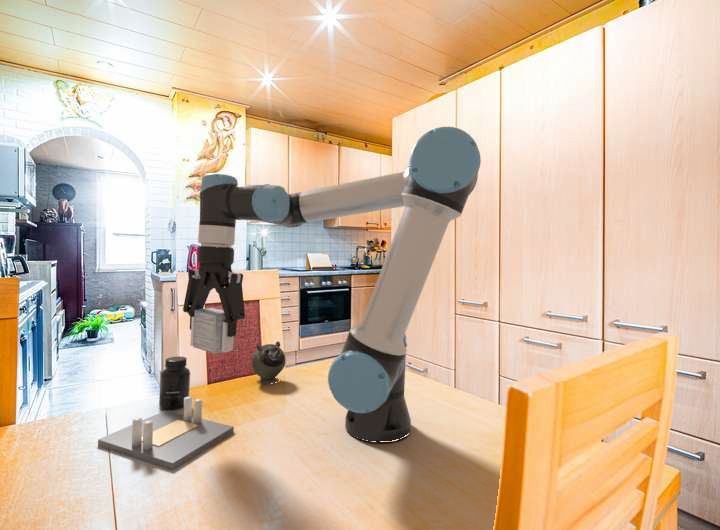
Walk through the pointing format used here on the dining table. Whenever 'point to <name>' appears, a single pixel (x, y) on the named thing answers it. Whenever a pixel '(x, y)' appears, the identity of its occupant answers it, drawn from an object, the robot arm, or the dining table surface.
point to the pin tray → (168, 436)
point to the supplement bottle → (174, 384)
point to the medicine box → (208, 329)
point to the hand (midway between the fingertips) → (211, 347)
